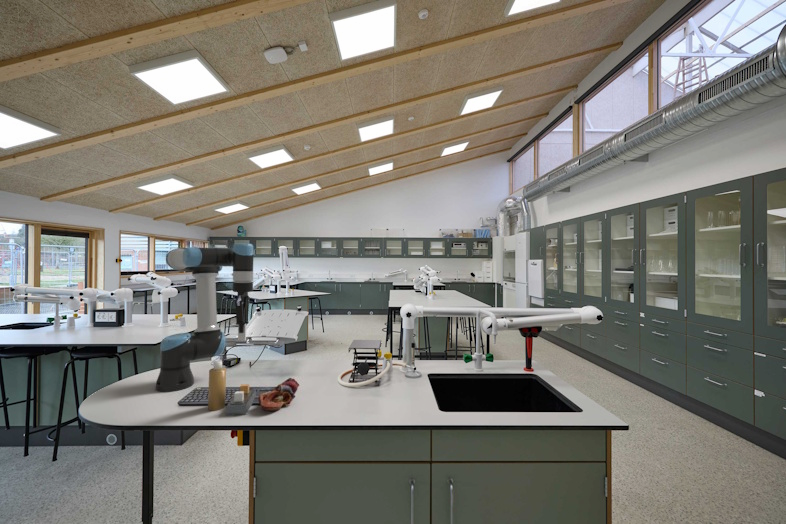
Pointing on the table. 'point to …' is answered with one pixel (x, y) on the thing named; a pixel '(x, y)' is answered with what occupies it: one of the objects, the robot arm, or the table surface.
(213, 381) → the amber pump bottle
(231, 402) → the breaker strip
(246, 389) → the paddle
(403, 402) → the table surface
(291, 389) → the anatomical model
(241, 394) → the paddle
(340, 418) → the table surface
